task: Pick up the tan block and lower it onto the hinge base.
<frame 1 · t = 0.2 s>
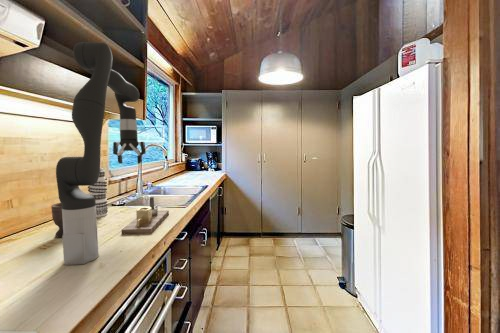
hand: (130, 163, 130), 28 cm above the table, tool pointing down, fingers open, 8 cm apart
hinge base: (148, 222, 128), on the table
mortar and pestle: (70, 235, 112), on the table
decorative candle: (99, 215, 144), on the table
tan block: (144, 221, 123), point 2 cm above the table, touching hinge base
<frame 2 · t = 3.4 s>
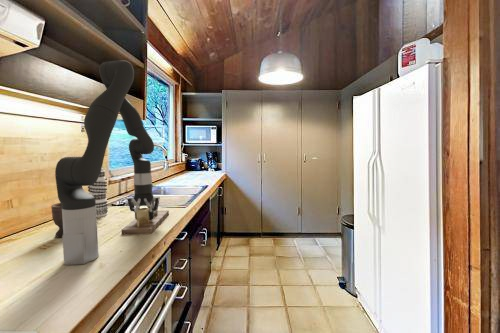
hand: (144, 219, 123), 3 cm above the table, tool pointing down, fingers closed on tan block, 5 cm apart
tan block: (144, 221, 123), point 2 cm above the table, touching gripper, hinge base
everything else where it was.
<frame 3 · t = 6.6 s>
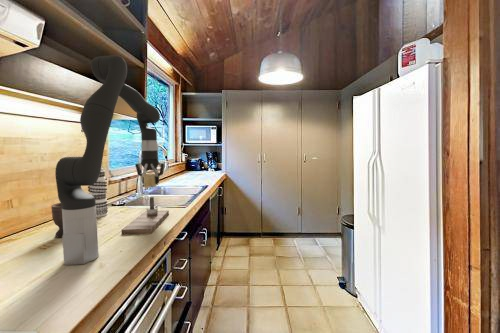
hand: (151, 183, 134), 18 cm above the table, tool pointing down, fingers closed on tan block, 5 cm apart
tan block: (151, 185, 134), point 17 cm above the table, touching gripper
everything else where it was.
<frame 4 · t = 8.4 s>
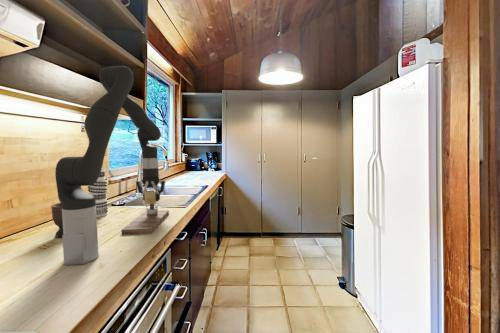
hand: (151, 201, 135), 9 cm above the table, tool pointing down, fingers closed on tan block, 5 cm apart
tan block: (151, 202, 135), point 8 cm above the table, touching gripper
everything else where it was.
when the fingers open (7 cm above the table, at t = 9.8 s): tan block stays where it is, resting on hinge base.
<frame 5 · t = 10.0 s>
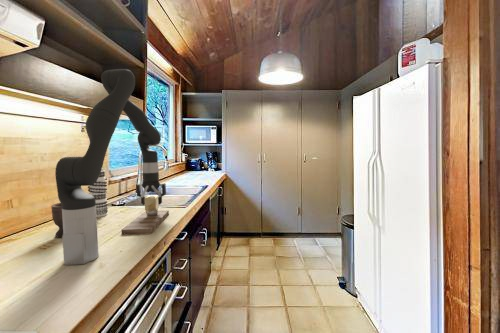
hand: (151, 204, 135), 7 cm above the table, tool pointing down, fingers open, 7 cm apart
tan block: (152, 209, 135), point 5 cm above the table, touching hinge base
everything else where it was.
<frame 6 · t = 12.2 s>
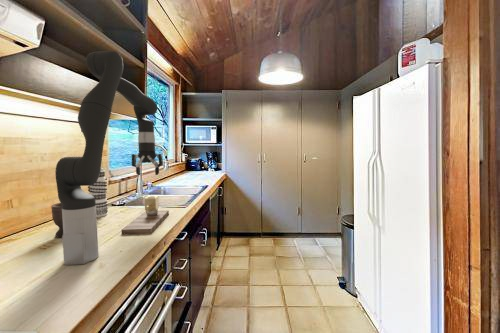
hand: (147, 175, 133), 22 cm above the table, tool pointing down, fingers open, 8 cm apart
nothing on the table moved.
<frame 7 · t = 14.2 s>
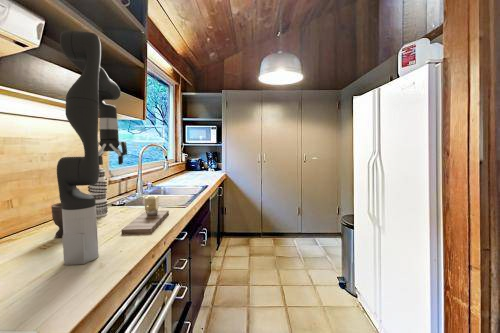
hand: (110, 164, 123), 28 cm above the table, tool pointing down, fingers open, 8 cm apart
nothing on the table moved.
at the end: tan block 0.0 cm from the target spot, point 5.0 cm above the table; tan block tilted 0°; the gripper is holding nothing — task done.
